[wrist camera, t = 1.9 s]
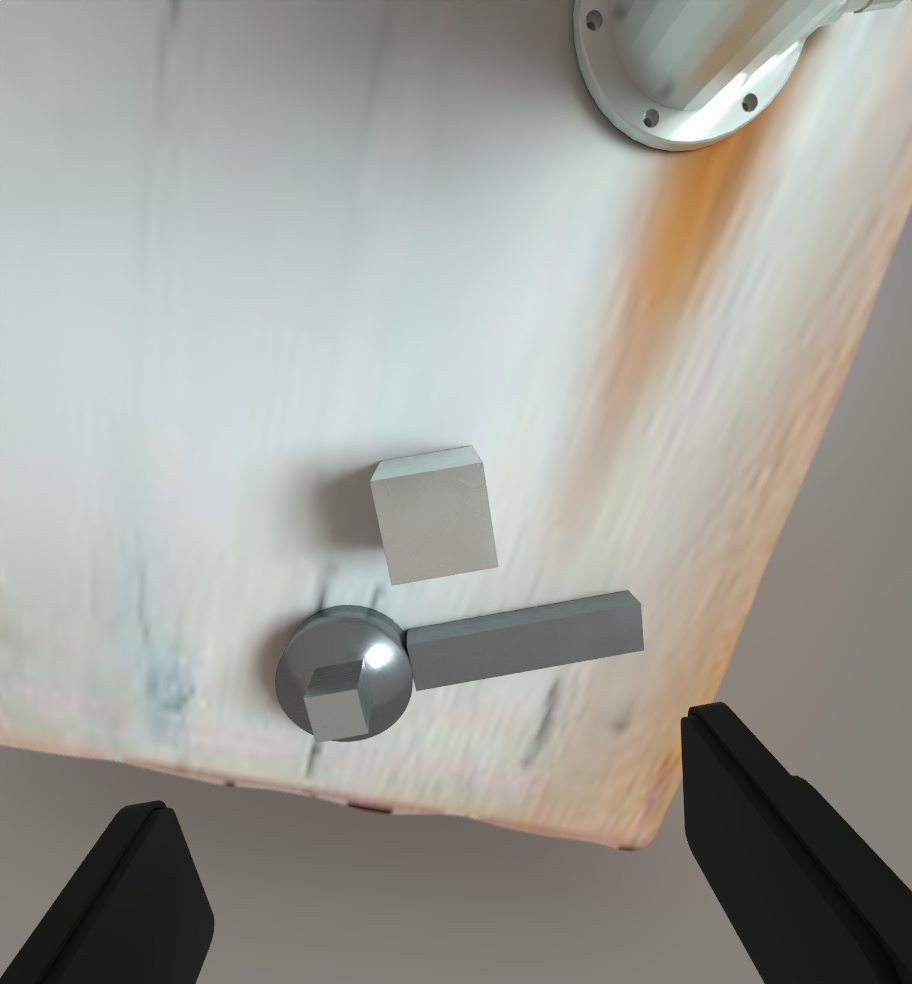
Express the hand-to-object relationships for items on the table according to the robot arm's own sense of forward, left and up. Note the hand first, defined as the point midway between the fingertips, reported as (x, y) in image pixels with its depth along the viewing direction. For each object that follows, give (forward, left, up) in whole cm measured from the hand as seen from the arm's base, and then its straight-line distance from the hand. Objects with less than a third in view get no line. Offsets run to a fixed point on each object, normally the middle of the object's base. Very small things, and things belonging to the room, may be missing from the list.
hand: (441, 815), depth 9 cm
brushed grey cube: (0, 0, -23) cm, 23 cm away
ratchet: (0, +11, -23) cm, 26 cm away
